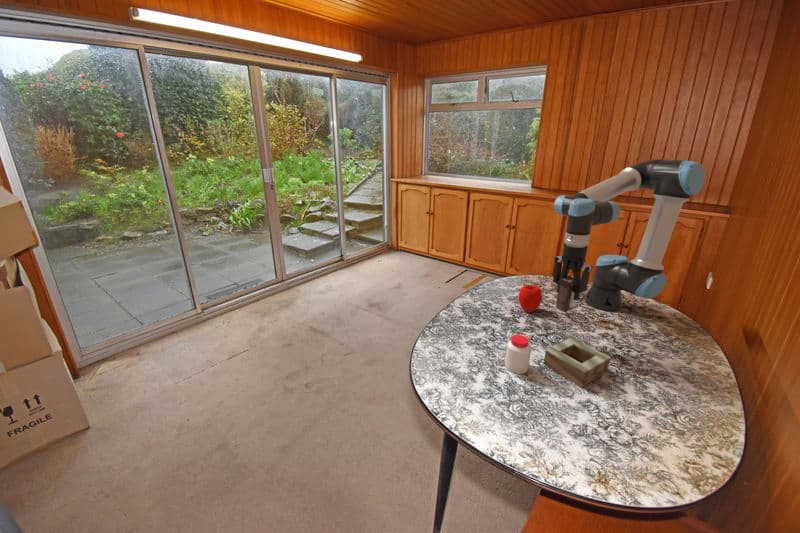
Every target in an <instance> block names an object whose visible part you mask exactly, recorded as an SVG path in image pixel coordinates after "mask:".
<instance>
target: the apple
mask: <svg viewBox="0 0 800 533" xmlns="http://www.w3.org/2000/svg"><path fill="white" fill-rule="evenodd" d="M517 299H518V302H519V306H520V307H521V309H522V310H523V311H525V312H526V313H532V312H534V311H536V310H537V309H538V308H539V306H540V305H541V303H542V301H543V291H542V289H541V288H540V287H539V286H537V285H533V284H532V285H531V284H526V285H524V286H522V287H521V288H520V290H519V292H518V298H517Z"/></svg>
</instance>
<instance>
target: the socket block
mask: <svg viewBox="0 0 800 533" xmlns="http://www.w3.org/2000/svg"><path fill="white" fill-rule="evenodd" d="M610 361H611V356H609V355H607V354H605V353H603V352H602V351H600V350H597V349H596V348H594V347H592V346H589V345H588V344H585V343H583V342H582V341H580V340H579V339H576V338H574V337H569V338H567V339H565V340H562V341H561V342H558V343H557V344H554V345H552V346H550V347H548V348H546V349H545V354H544V361H543V365H544V366H546V367H548V368H549V369H551V370H552V371H554V372H555V373H558V374H559V375H561V376H562V377H564V378H566V380H569V382H572V383H573V384H575V385H577V386H578V387H580V388H583V387H585V386H588V384H589V383H592V382H594V381H595V380H596V379H598V378H600V377H601V376H604V375H605V374H607V373H608V369H609V366H610Z"/></svg>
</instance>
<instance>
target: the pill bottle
mask: <svg viewBox="0 0 800 533" xmlns="http://www.w3.org/2000/svg"><path fill="white" fill-rule="evenodd" d="M510 338H511V339H510V340H509V341H507V344H506V351H505V360H504V367H505V368H506V370H507V371H509V372H511V373H514V374H519V375H520V374H525V373H527V372H528V371H529V369H530V368H529V367H530V360H531V355H532V354H531V353H532V345H531V344H530V343H529V342H530V340H529V338H528V337H527V336H525V335H522V334H514V335H512V336H511V337H510Z"/></svg>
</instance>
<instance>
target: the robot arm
mask: <svg viewBox="0 0 800 533" xmlns="http://www.w3.org/2000/svg"><path fill="white" fill-rule="evenodd" d="M705 180H706V171H705V168H704V166H703V165H702V164H701V163H700V162H699V161H698V162H697V161H691V160H683V159H682V160H679V159H678V160H677V159H662V158H661V159H659V158H655V159H648V160H644V161H641V162H638V163H635V164H633V165H629V166H627V167H626V168H623V169H622V170H620V172H619V173H618V174H616V175H614V176H612V177H610V178H607V179H605V180H603V181H601V182H599V183H597V184H594V185H592V186H590V187H588V188H585V189H583V190H581V191H579V192H577V193H575V194H573V195H569V194H562V195H559V196H558V197H556V199H555V200H554V204H553V209H554V212H555V213H556V214H558V215H561V216H563V217H567V222H566V229H565V235H564V244H563V248H562V255H561V256H560V255H558V256H555V257H554V259H553V260H554V270H553V279H552V282H553V283H555V284H557V287H556V293H557V294H558V292H559V285H560V279H563V278H564V277H568V275H569V273H570V270H571V272H572V273H571V274H572V276H573V279H574V291H572V293H571V299H570V305H569V308H573V307H575V308H576V307H577V306H576V305H577V301H578V300H580V295H581V293H584V292H586V291H587V293H586V294H585V297H584V303H586V305H588V306H589V307H591V308H594V309H597V310H599V311H605V312H607V311H608V312H616V311H620V310H621V309H622V307H623V304H624V302H623V295H622V291H624V292H627V293H629V294H632V295H634V296H636V297H637V298H639V297H640V298H642V299H645V300H649V299H653V298H655V297H657V296H658V295H659V294H660V293H661V292H662V291H663V290H664V288H665V286H666V284H667V281H668V279H667V278H668V277H667V275H665V274H664V273H663V272H664V269H665V268H664V265H662V262H663V259H664V256H665V254H666V250H667V248H668V244H669V242H670V240H671V237H672V234H673V231H674V229H675V226H676V224H677V220H678V218H679V215H680V212H681V210H682V207H683V204H684V203H686V202H688V201H689V200H691V197H692V196H695V195H697V194H699V193H700V191H701V190H702V188H703V187H704V184H705ZM639 189H640V190H641V189H643V190H645V189H646V190H651V191H653V193H652V196H653V197H654V200H655V201H654V203H653V207H652V210H651V212H650V215H649V217H648V218H649V219H648V222H647V223H646V224H647V225H646V227H645V230H644V233H643V237H642V239H641V241H640V242H641V243H640V245H639V247H638V251H637V254H636V256H635V258H633V259H631V260H629V257H627V256H624V255H618V254H605V255H604V254H603V255H601V256H599V257H598V258H597V260H596V262H595V263H596V264H595V269H594V272H593V279H592V284H591V286H590V288H589V289H588V284H589V281H590V280H589V279H590V274H591V271H592V270H593V268H594V266H593V265H589V264H587V263H586V257H587V252H588V248H589V247H588V245H589V242H590V238H591V237H590V235H591V229H592V227H594V226H598V225H604V224H605V225H607V224H610V223H612V222H615V221H617V220H618V219H619V216H620V215H621V208H620V206H619V204H618V203H617V202H615V201H612V200H611V199H614V198H615V197H618V196H619V195H622V194H623V193H626V192H634V191H636V190H639ZM587 289H588V290H587ZM573 309H574V308H573Z"/></svg>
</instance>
